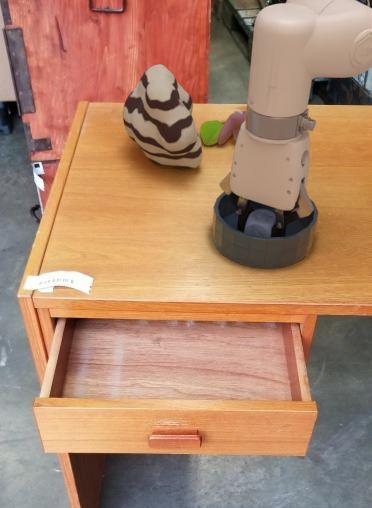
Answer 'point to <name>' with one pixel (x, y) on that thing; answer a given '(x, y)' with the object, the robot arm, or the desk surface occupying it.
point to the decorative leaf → (211, 132)
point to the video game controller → (232, 126)
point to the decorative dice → (260, 223)
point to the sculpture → (163, 120)
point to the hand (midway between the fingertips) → (260, 238)
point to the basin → (261, 248)
